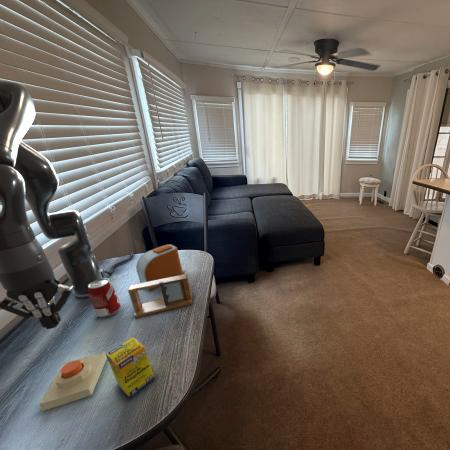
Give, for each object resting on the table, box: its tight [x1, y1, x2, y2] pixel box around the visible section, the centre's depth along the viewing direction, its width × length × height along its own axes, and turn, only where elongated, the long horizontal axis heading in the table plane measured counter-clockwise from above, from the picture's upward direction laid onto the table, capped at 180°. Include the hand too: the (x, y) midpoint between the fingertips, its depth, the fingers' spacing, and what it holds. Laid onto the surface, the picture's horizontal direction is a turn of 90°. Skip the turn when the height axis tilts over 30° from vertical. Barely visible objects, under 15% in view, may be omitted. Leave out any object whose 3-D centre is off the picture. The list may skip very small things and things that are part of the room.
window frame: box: [127, 273, 193, 318], centre depth 85 cm, size 6×18×10 cm, turn 112°
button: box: [60, 359, 83, 378], centre depth 59 cm, size 4×4×2 cm
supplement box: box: [105, 336, 155, 399], centre depth 58 cm, size 6×6×11 cm
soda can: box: [88, 277, 121, 318], centre depth 82 cm, size 7×7×12 cm
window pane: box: [159, 281, 186, 306], centre depth 84 cm, size 5×7×11 cm
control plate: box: [39, 351, 108, 411], centre depth 59 cm, size 11×9×4 cm
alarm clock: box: [135, 243, 184, 291], centre depth 101 cm, size 15×8×14 cm, turn 144°
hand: (53, 326), depth 56 cm, fingers closed
